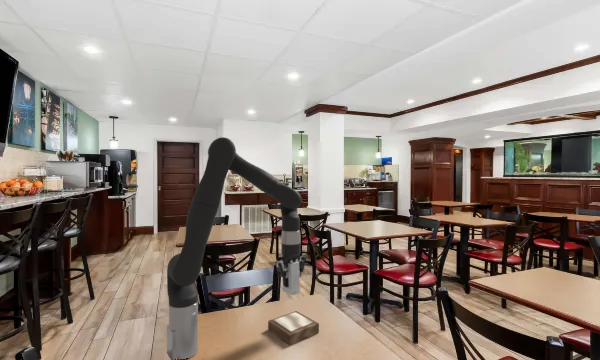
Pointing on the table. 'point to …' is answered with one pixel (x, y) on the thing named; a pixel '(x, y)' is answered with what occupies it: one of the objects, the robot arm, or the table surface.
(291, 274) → the skincare box
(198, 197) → the robot arm
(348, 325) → the table surface
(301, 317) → the walnut stand
